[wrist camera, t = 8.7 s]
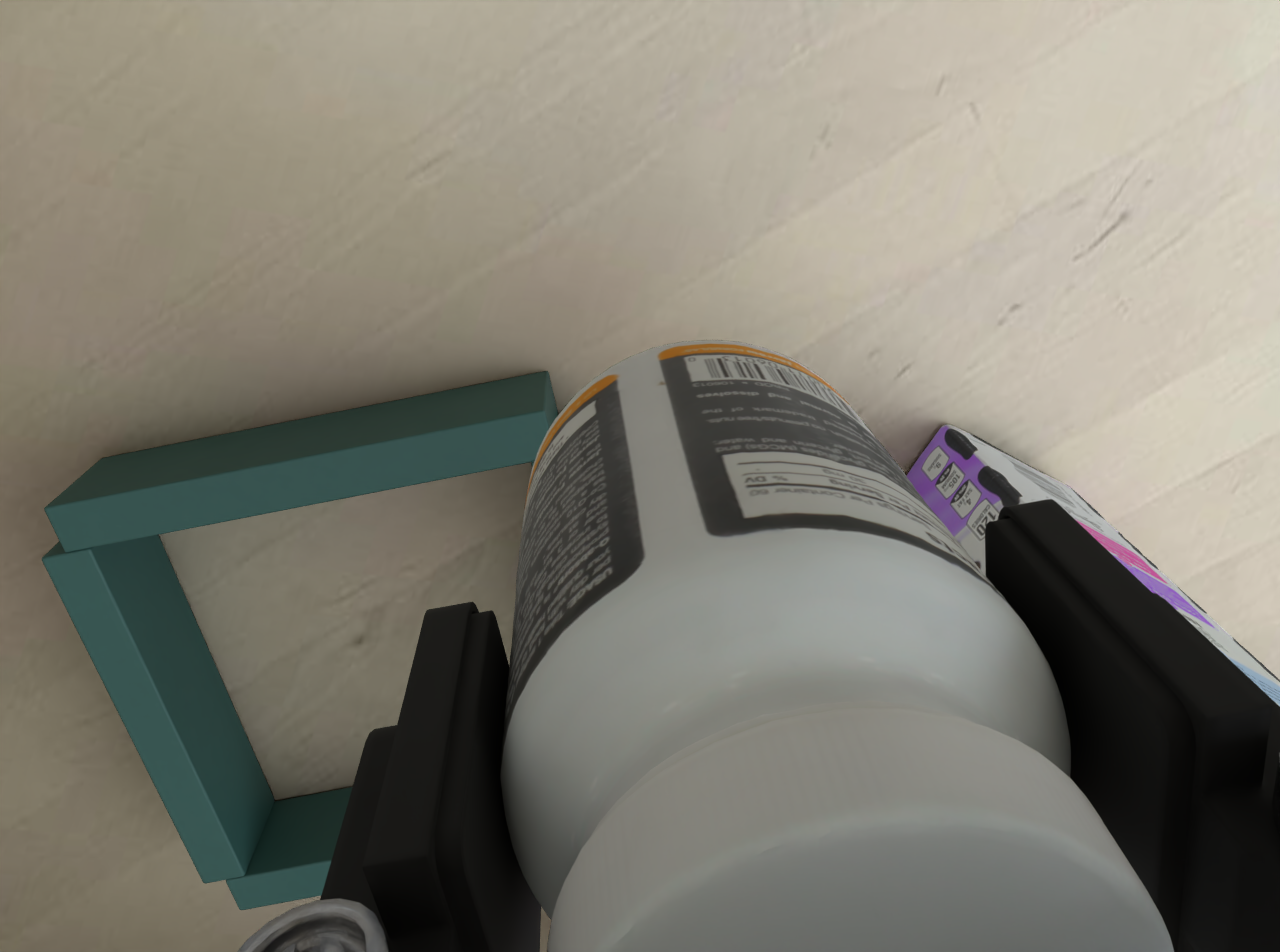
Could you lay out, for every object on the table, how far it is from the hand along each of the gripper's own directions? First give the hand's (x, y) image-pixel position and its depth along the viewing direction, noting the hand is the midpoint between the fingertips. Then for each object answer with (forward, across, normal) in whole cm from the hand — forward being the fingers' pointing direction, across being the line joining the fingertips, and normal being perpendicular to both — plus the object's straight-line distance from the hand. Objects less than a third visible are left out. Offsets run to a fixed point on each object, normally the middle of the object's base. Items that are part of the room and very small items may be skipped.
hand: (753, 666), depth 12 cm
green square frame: (+22, +11, +12) cm, 27 cm away
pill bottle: (+5, 0, 0) cm, 5 cm away
